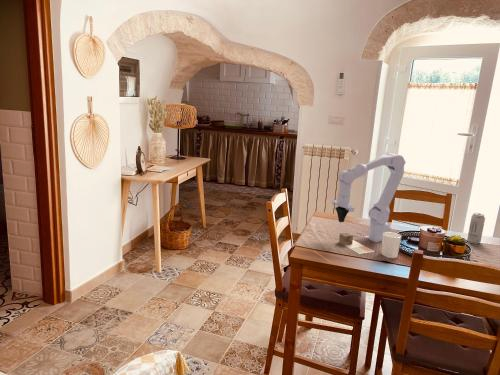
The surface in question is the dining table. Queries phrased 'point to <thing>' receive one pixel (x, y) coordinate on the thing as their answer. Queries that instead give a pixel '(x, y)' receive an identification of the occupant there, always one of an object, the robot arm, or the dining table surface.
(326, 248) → the dining table surface
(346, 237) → the block
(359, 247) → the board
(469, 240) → the energy drink can
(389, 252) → the white cup
